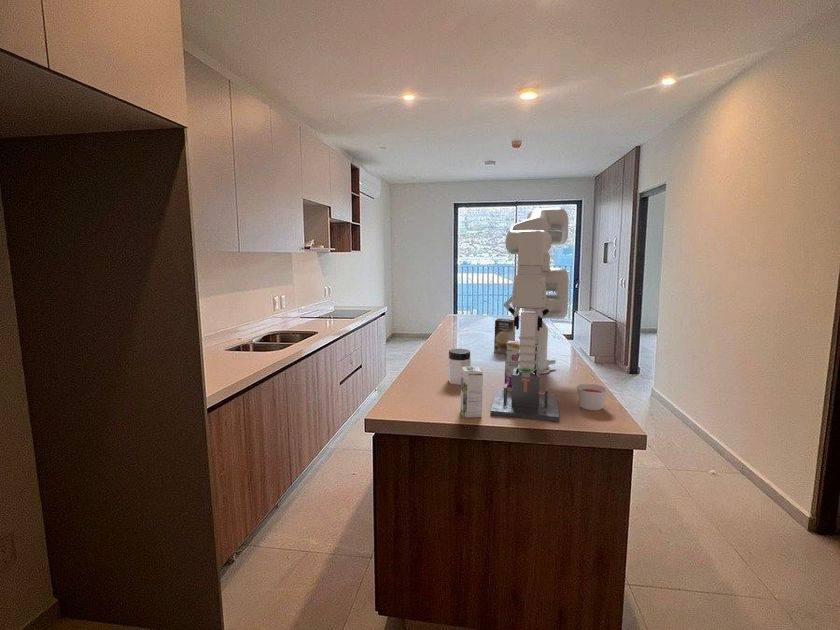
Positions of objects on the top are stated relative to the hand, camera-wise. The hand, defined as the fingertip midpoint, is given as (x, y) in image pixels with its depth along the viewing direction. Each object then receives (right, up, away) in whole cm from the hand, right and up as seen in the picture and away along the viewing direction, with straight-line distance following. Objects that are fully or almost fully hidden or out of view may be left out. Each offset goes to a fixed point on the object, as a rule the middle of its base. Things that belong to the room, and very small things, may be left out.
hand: (527, 328), depth 135 cm
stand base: (0, -25, +4) cm, 26 cm away
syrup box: (-18, -26, -2) cm, 32 cm away
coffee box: (+7, -14, +76) cm, 77 cm away
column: (0, -17, +3) cm, 17 cm away
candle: (+21, -25, +4) cm, 33 cm away
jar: (-19, -21, +30) cm, 41 cm away
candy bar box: (+3, -22, +25) cm, 34 cm away
